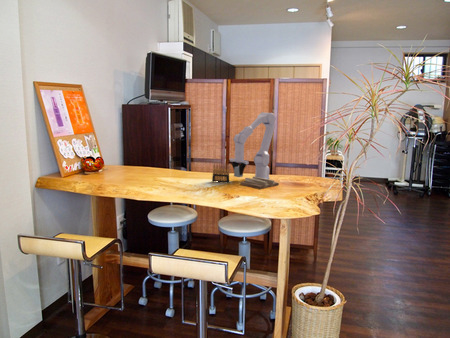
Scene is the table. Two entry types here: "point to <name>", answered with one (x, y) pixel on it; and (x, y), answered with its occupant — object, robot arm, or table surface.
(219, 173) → the ammunition clip
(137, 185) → the table surface
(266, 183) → the notched board
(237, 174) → the tab block
